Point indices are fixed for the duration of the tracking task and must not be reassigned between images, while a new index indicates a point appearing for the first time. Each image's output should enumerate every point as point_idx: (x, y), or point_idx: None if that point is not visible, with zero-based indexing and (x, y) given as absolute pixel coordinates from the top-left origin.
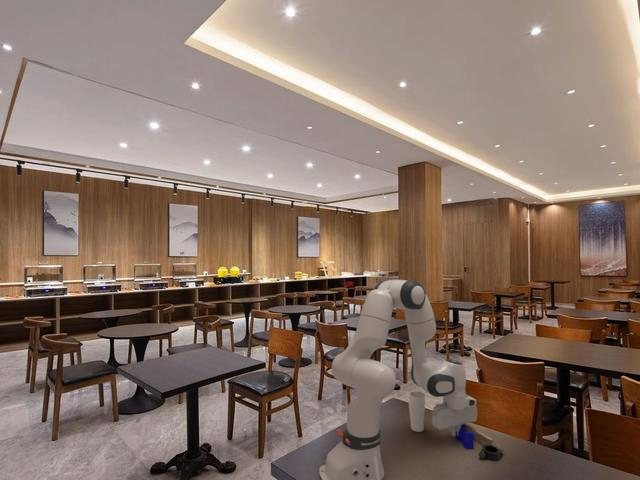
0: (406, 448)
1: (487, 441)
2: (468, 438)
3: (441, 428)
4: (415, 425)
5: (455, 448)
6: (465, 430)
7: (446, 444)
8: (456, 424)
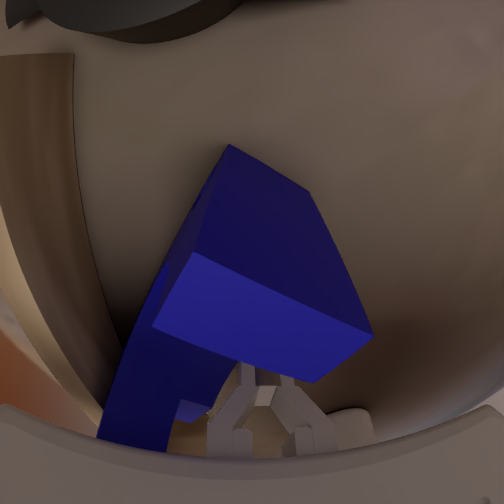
0: (501, 329)
1: (18, 110)
2: (303, 239)
3: (479, 414)
4: (375, 435)
5: (374, 244)
6: (123, 367)
7: (370, 308)
8: (309, 472)
